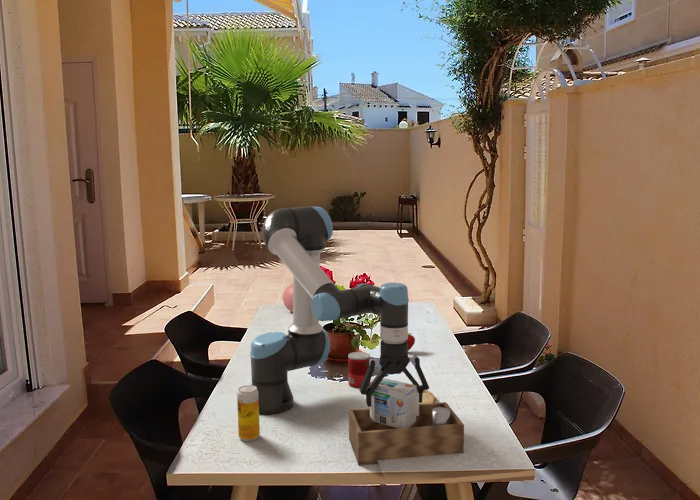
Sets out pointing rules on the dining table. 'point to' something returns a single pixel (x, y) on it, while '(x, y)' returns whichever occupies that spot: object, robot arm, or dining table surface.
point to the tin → (440, 416)
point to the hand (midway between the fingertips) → (394, 415)
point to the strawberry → (410, 341)
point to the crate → (404, 436)
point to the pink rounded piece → (288, 297)
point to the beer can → (248, 413)
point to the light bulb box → (395, 403)
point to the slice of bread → (427, 397)
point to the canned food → (357, 368)
